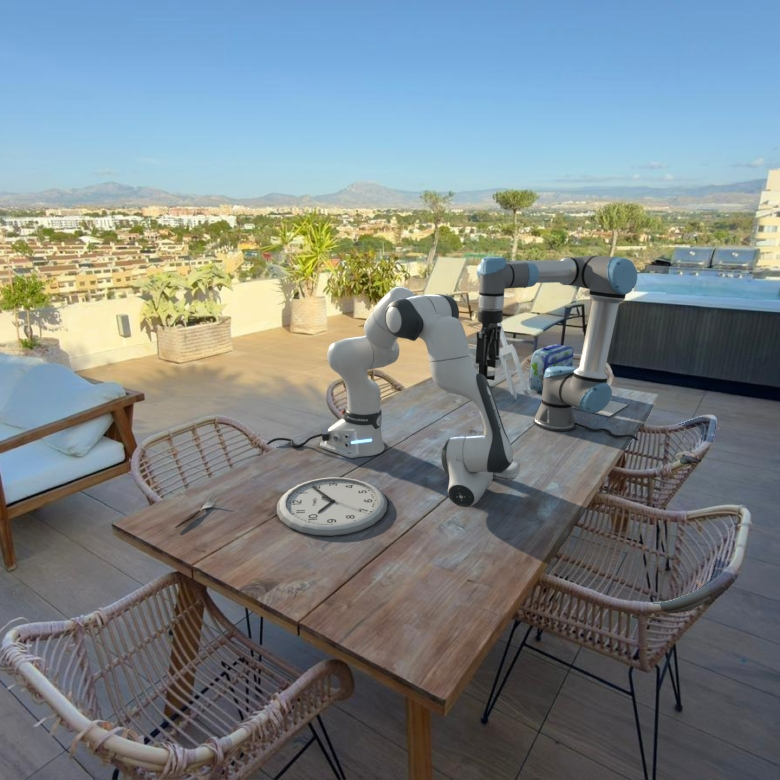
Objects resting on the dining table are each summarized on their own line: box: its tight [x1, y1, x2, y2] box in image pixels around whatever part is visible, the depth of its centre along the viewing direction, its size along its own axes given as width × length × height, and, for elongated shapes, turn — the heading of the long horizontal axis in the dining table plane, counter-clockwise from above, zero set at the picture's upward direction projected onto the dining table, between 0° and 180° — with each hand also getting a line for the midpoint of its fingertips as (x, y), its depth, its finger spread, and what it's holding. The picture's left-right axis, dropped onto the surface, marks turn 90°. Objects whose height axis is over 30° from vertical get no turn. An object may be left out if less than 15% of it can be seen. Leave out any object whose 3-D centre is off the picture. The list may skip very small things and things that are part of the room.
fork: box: [174, 492, 220, 529], centre depth 137 cm, size 3×16×2 cm, turn 160°
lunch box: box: [528, 344, 574, 393], centre depth 247 cm, size 26×11×21 cm, turn 134°
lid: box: [478, 367, 497, 376], centre depth 166 cm, size 5×5×2 cm
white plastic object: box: [469, 322, 531, 400], centre depth 245 cm, size 37×45×31 cm
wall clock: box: [276, 476, 388, 537], centre depth 142 cm, size 30×2×30 cm
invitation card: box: [573, 400, 629, 418], centre depth 226 cm, size 21×1×15 cm
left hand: (490, 454), depth 161 cm, fingers closed on jar, 5 cm apart
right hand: (486, 381), depth 167 cm, fingers closed on lid, 5 cm apart
